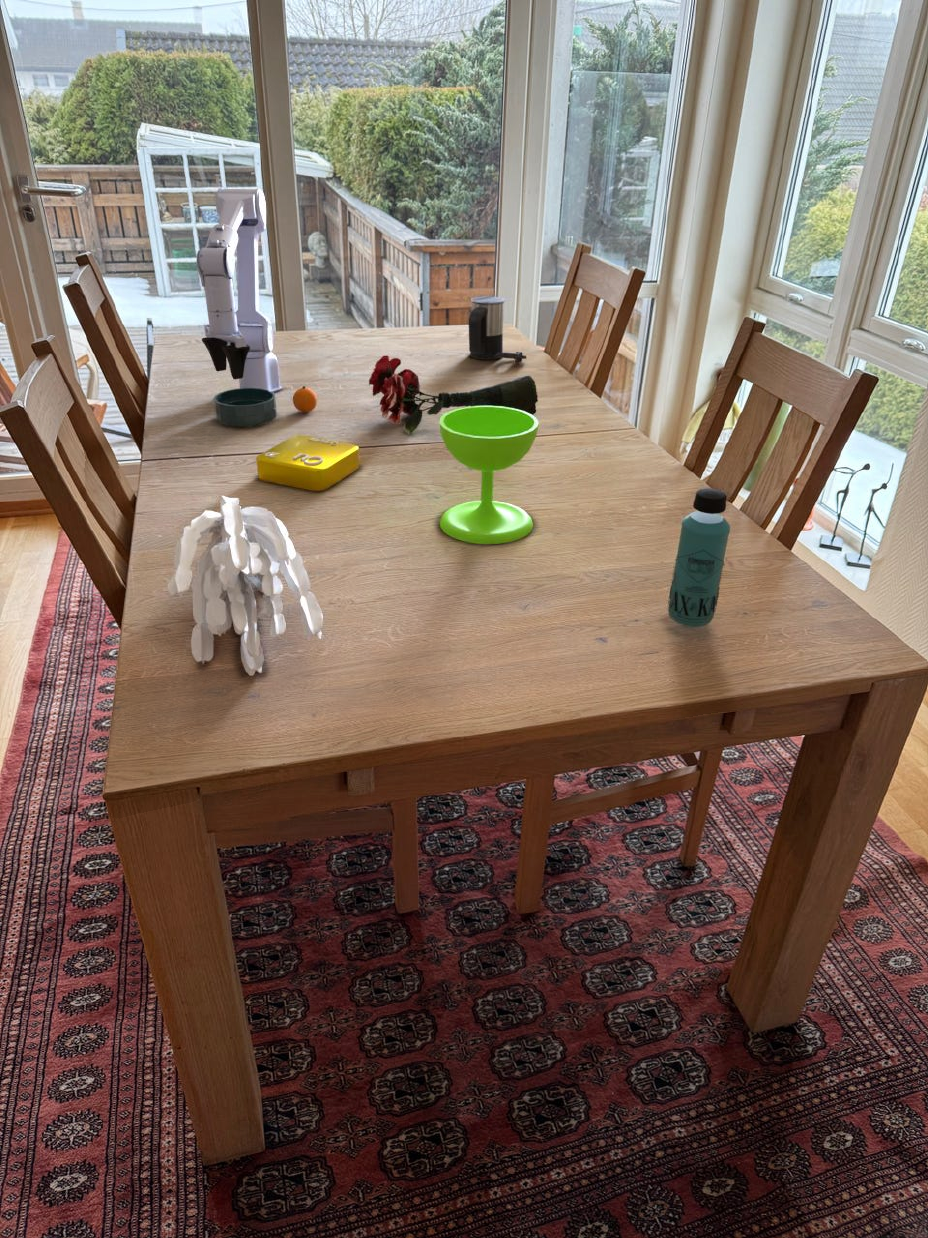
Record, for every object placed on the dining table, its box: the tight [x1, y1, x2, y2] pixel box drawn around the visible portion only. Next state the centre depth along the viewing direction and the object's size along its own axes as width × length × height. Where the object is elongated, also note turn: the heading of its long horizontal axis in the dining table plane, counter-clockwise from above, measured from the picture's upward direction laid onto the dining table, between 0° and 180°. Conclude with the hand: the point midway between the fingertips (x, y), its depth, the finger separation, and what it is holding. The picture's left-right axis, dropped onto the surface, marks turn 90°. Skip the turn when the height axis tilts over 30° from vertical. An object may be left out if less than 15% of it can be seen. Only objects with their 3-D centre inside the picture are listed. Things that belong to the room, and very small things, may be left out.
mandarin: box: [292, 385, 318, 413], centre depth 204 cm, size 5×5×6 cm
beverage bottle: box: [666, 487, 731, 628], centre depth 123 cm, size 6×7×20 cm
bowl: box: [212, 387, 278, 428], centre depth 200 cm, size 13×13×5 cm
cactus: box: [166, 494, 324, 677], centre depth 125 cm, size 17×18×35 cm
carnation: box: [368, 354, 539, 435], centre depth 200 cm, size 16×18×35 cm
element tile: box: [255, 434, 360, 492], centre depth 173 cm, size 15×15×5 cm
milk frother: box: [468, 295, 527, 363], centre depth 241 cm, size 14×16×15 cm
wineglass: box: [438, 406, 540, 545], centre depth 151 cm, size 16×16×18 cm
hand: (229, 374), depth 197 cm, fingers open, 7 cm apart
